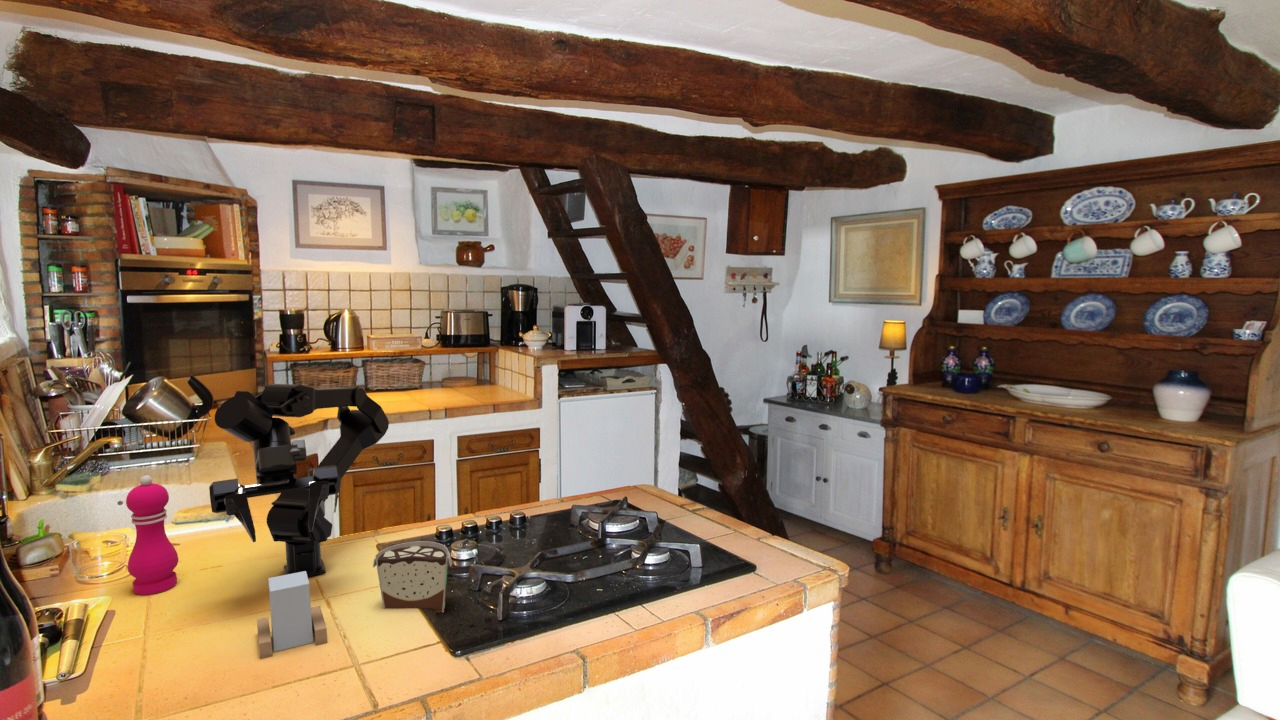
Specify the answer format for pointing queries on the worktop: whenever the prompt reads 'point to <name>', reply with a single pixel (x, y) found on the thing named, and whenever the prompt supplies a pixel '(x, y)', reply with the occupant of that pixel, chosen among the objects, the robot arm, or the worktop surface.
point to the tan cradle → (265, 637)
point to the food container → (413, 575)
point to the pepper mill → (151, 540)
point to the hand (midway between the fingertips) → (283, 535)
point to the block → (290, 610)
